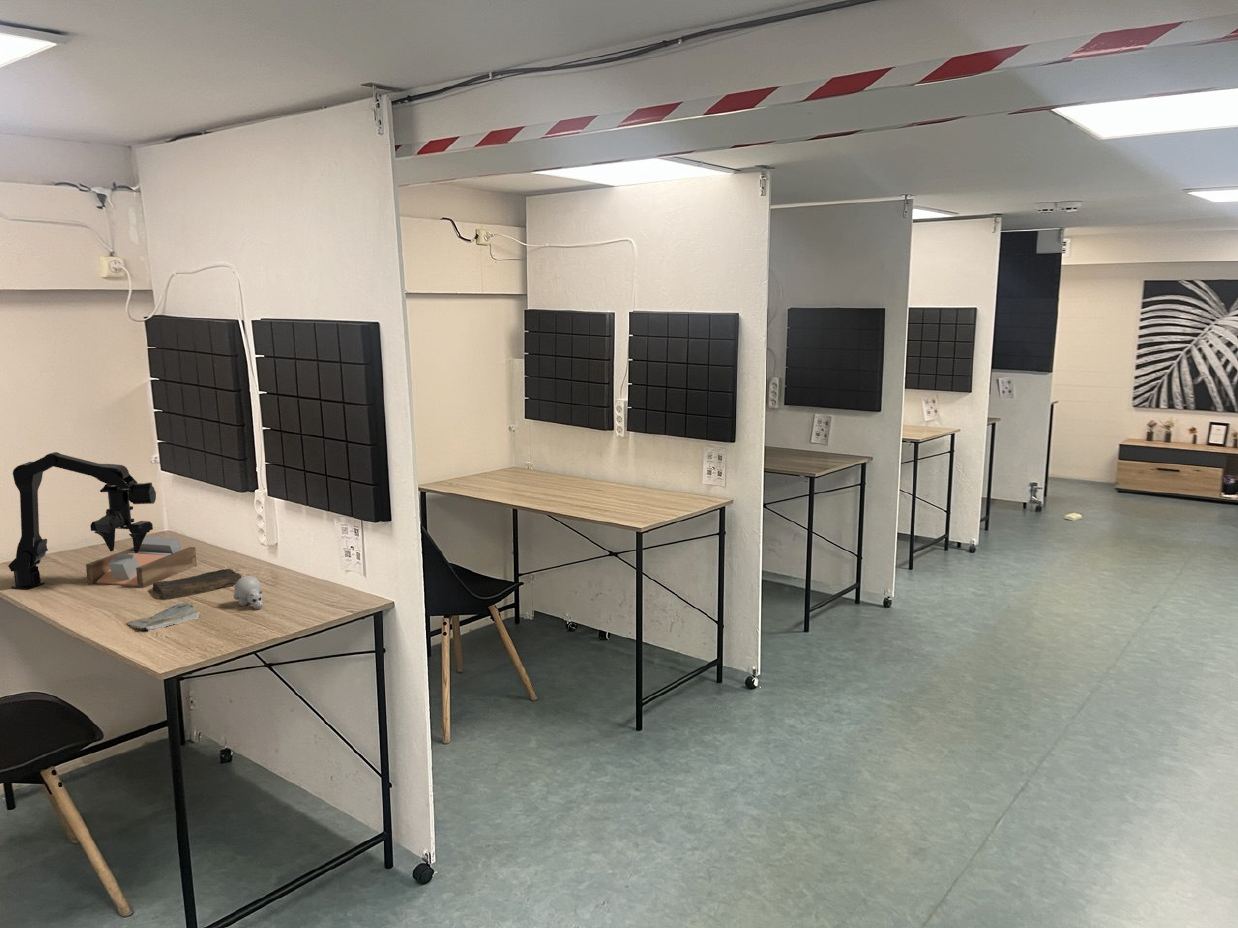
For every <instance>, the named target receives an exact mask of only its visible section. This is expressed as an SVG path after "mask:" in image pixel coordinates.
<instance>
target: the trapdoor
mask: <svg viewBox="0 0 1238 928" xmlns="http://www.w3.org/2000/svg"><path fill="white" fill-rule="evenodd" d="M181 550H183V548H182V547H181V545H180V542H179V540H178V538H172V537H171V538H170V537H156V536H155V537H154V536H145V538H144V540H143V542H142V544H141V547H140V549H139V552H138V553H135V552H134V551H129V553H128V554H134V555H135V557H136V559H137V562H138V564H139V566H142V565H144V564H147V563H150V562H152V561H155V560H157V559H160V558H163V557H165V556H168V555H170V554H173V553H176V552H178V551H181ZM96 582H97V583H96V584H103V585H105V584H107V585H119V586H131V587H138V582H137V573H136V574H135V575H134V576H133V577H132V578H131V579H116V578H114V576H113V573H112V571H111V569H110V570H109V571H108V572H106V573H105V574H104V575H103V576H102V577H101V578H100V579H99V580H97V581H96Z"/></svg>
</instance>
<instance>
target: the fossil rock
mask: <svg viewBox="0 0 1238 928" xmlns="http://www.w3.org/2000/svg"><path fill="white" fill-rule="evenodd" d="M200 614H201V613H200V611H198V610H196V609H195V607H194V605H193V604H191V603H189V602H183V603H179V604H174V605H173V606H169V607H168V608H166V609H164V610H161V611H160V612H158V613H155V614H154V615H152V616H149V617H144V618H139V619H134V620H131V621H127V622H125V624H126V625H127V624H128V625H127V626H129V625H130V626H129V627H131V626H132V627H131V628H133V627H134V628H133V629H136V628H137V630H140V631H144V630H145V631H147V630H148V631H150V630H154V631H156V630H155V629H158V628H161V629H163V628H162V627H164V628H166V626H167V627H168V626H169V625H170V626H174V625H173V624H175V625H178V624H177V623H180V624H182V623H181V622H185V621H188V620H192V619H195V620H198V619H199V616H200ZM192 621H193V620H192ZM188 622H189V621H188ZM185 623H186V622H185ZM158 630H159V629H158ZM148 631H147V632H148ZM150 632H151V631H150Z"/></svg>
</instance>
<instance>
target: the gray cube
mask: <svg viewBox="0 0 1238 928" xmlns="http://www.w3.org/2000/svg"><path fill="white" fill-rule="evenodd" d="M118 553H119V552H118ZM108 565H109V567H110V569H111V571H112V573H113V576H114V578H116V579H131V578H132V577H133V576H134V575H135V574H136V573H137V572H136V568H137V567H139V564H138V562H137V559H136V557H135V555H134V554H123V553H119V554H118V555H117V556H116V557H115V558H114V559H112V560H111V561H110V562H109V563H108Z"/></svg>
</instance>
